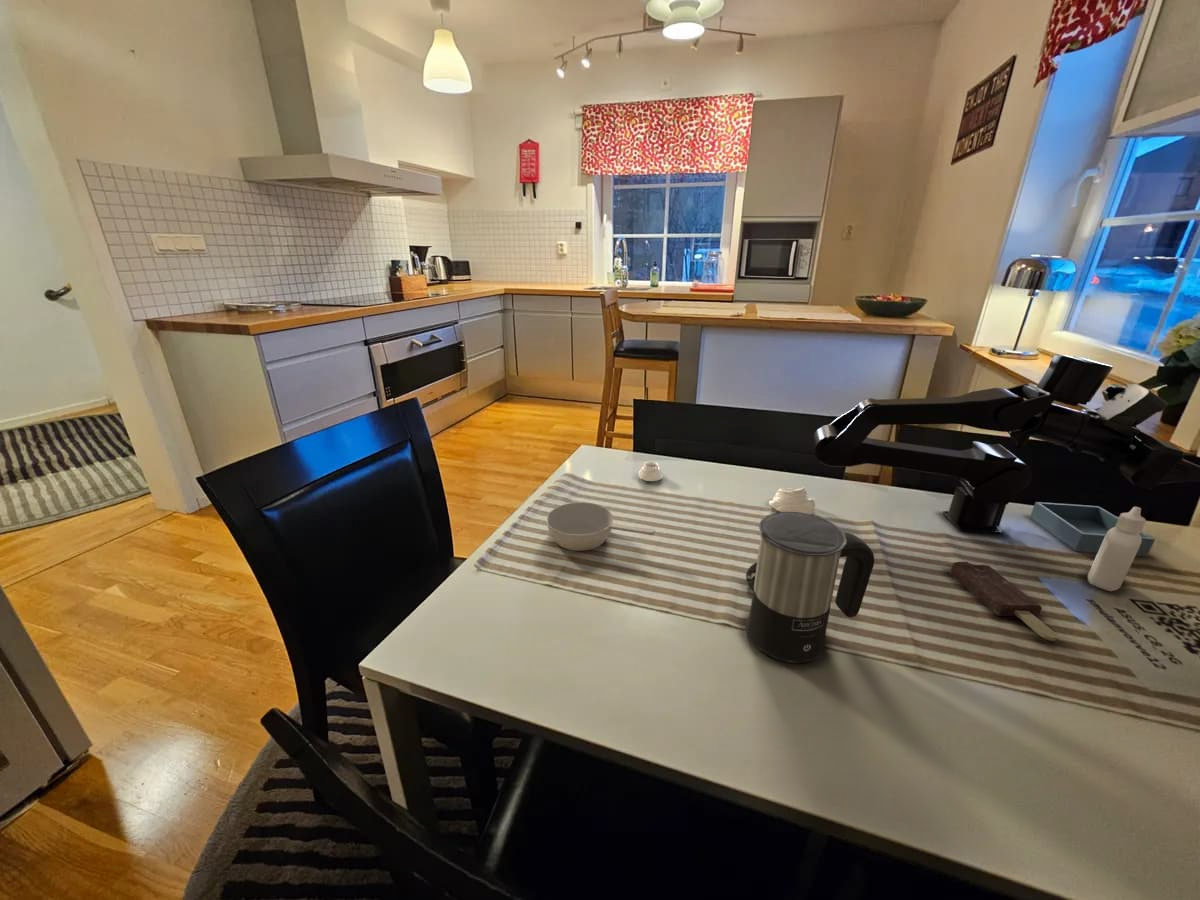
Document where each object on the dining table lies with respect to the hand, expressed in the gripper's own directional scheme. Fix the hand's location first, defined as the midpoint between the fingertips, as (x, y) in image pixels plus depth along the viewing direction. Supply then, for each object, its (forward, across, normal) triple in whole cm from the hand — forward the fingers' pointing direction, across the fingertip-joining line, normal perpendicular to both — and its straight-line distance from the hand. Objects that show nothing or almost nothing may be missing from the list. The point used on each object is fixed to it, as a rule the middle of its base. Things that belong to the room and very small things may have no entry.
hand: (1191, 463), depth 72 cm
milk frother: (-49, -39, +24) cm, 67 cm away
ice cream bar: (-22, -25, +19) cm, 39 cm away
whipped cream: (-49, -8, +26) cm, 56 cm away
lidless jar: (-76, -5, +32) cm, 83 cm away
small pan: (-76, -32, +31) cm, 88 cm away
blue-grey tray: (-4, +2, +17) cm, 17 cm away
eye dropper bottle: (-7, -14, +17) cm, 23 cm away
